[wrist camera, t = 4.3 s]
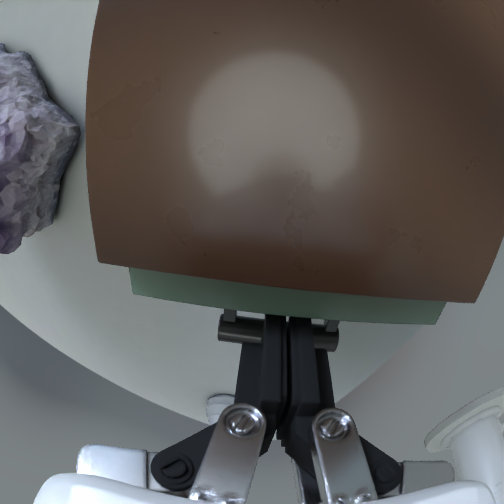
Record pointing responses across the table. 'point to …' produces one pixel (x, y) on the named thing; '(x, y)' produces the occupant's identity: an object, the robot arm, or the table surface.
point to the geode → (29, 150)
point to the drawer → (280, 305)
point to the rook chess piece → (217, 406)
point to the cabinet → (300, 142)
